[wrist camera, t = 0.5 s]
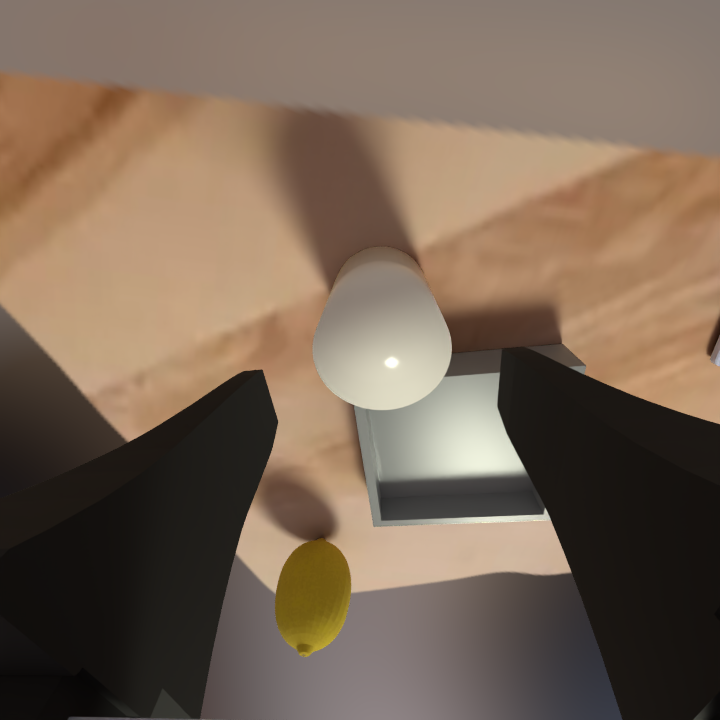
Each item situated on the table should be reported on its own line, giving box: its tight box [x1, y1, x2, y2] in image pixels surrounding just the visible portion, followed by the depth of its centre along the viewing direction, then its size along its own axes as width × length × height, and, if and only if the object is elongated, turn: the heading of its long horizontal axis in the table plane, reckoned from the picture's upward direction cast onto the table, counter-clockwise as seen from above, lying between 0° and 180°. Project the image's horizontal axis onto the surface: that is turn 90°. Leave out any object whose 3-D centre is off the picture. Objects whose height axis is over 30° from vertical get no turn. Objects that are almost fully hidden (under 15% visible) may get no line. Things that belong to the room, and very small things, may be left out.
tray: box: [354, 344, 586, 527], centre depth 22 cm, size 12×12×2 cm
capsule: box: [313, 246, 452, 410], centre depth 15 cm, size 5×5×7 cm
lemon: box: [275, 538, 351, 657], centre depth 26 cm, size 6×6×8 cm
